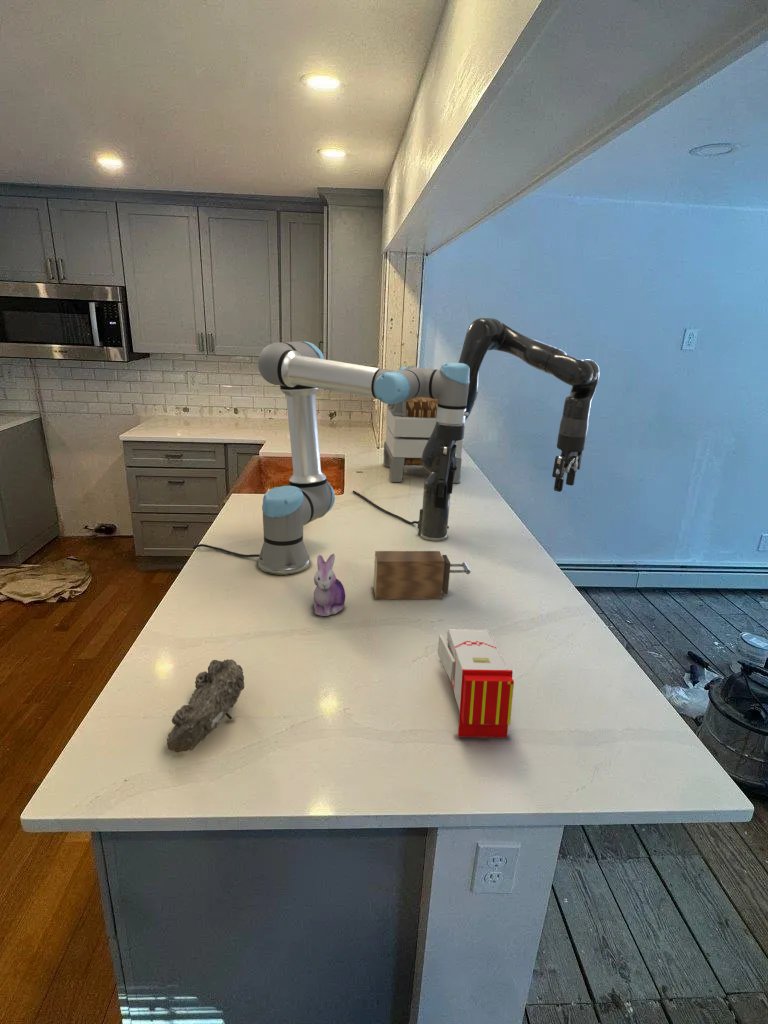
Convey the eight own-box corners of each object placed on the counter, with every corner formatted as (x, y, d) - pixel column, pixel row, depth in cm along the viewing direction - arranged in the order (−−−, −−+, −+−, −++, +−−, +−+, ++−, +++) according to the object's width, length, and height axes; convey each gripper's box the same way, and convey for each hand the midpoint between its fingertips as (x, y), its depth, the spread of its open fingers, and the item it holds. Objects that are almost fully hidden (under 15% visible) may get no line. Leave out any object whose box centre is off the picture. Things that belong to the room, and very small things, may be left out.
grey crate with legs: (382, 463, 289) (386, 382, 275) (445, 464, 293) (451, 384, 279) (390, 482, 257) (394, 392, 243) (460, 483, 261) (468, 394, 247)
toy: (488, 613, 130) (523, 677, 101) (484, 667, 133) (517, 744, 104) (435, 612, 130) (455, 676, 101) (432, 666, 133) (451, 743, 103)
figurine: (319, 621, 142) (319, 567, 137) (305, 602, 151) (304, 551, 146) (353, 613, 146) (354, 560, 141) (337, 596, 155) (338, 545, 150)
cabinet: (436, 587, 163) (439, 550, 159) (441, 598, 156) (444, 561, 153) (373, 587, 161) (375, 551, 157) (375, 599, 154) (377, 561, 150)
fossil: (192, 660, 117) (244, 628, 112) (224, 691, 120) (276, 661, 115) (142, 746, 98) (202, 712, 93) (182, 779, 101) (242, 748, 96)
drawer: (463, 585, 163) (467, 554, 159) (468, 594, 158) (471, 563, 154) (384, 585, 160) (385, 554, 157) (386, 595, 155) (388, 563, 152)
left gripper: (459, 434, 137) (451, 516, 144) (469, 416, 160) (462, 488, 167) (428, 431, 138) (422, 512, 145) (443, 414, 161) (437, 485, 168)
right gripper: (569, 427, 167) (561, 480, 172) (549, 434, 156) (541, 490, 162) (595, 431, 162) (585, 485, 168) (575, 438, 152) (566, 496, 157)
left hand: (443, 500), depth 156 cm, fingers open, 13 cm apart
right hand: (563, 487), depth 165 cm, fingers open, 8 cm apart
